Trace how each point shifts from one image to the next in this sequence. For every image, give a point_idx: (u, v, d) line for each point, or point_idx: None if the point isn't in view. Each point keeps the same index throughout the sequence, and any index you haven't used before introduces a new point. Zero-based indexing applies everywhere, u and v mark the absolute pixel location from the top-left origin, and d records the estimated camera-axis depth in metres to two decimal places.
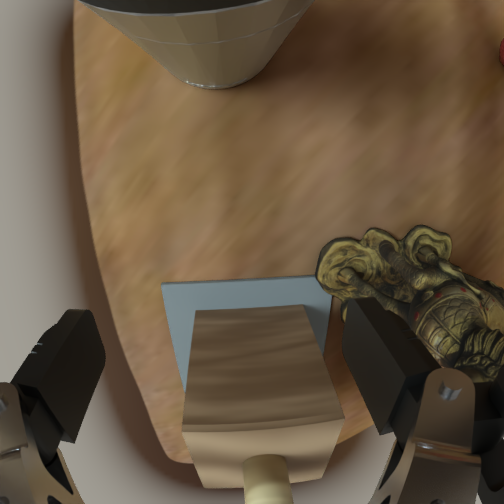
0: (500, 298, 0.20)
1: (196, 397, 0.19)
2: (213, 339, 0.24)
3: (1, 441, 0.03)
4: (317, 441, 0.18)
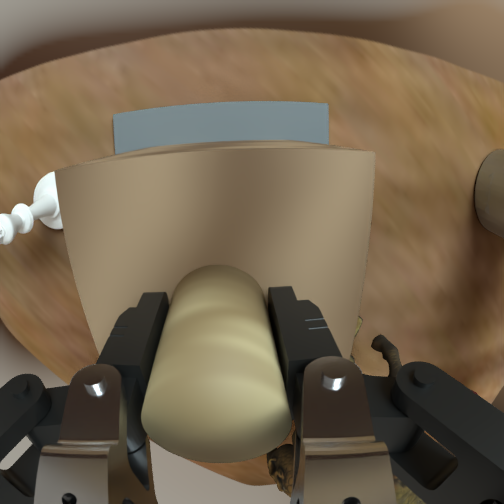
0: None
1: None
2: None
3: (86, 428, 0.04)
4: None
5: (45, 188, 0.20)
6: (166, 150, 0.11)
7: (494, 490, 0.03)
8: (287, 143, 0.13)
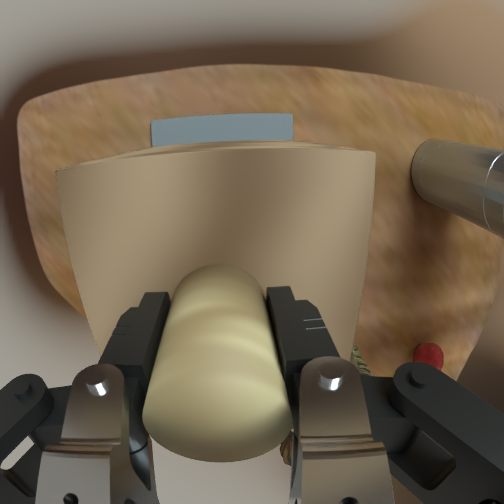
0: None
1: None
2: None
3: (88, 428, 0.04)
4: None
5: None
6: (167, 150, 0.11)
7: (493, 490, 0.03)
8: (287, 143, 0.13)
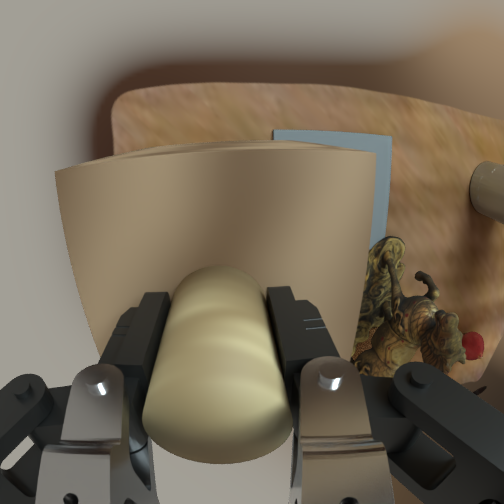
0: None
1: None
2: None
3: (88, 428, 0.04)
4: None
5: None
6: (167, 151, 0.11)
7: (492, 490, 0.03)
8: None
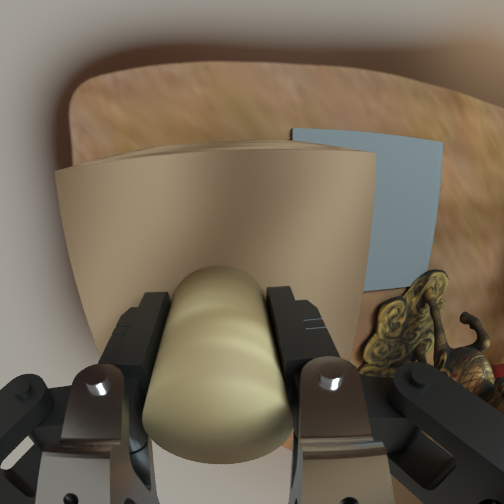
0: None
1: None
2: None
3: (89, 429, 0.04)
4: None
5: None
6: (167, 151, 0.11)
7: (493, 490, 0.03)
8: None
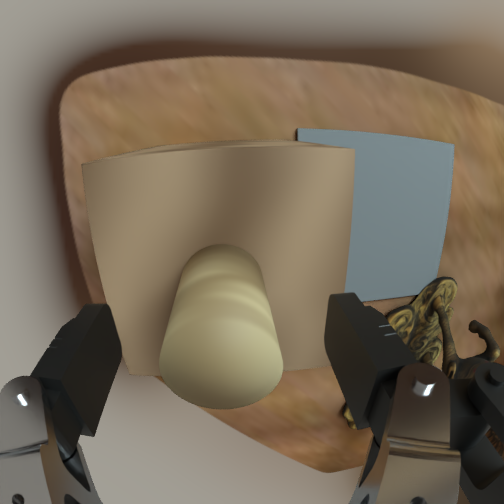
0: None
1: None
2: None
3: (20, 436, 0.04)
4: (284, 348, 0.14)
5: None
6: (176, 148, 0.13)
7: None
8: None
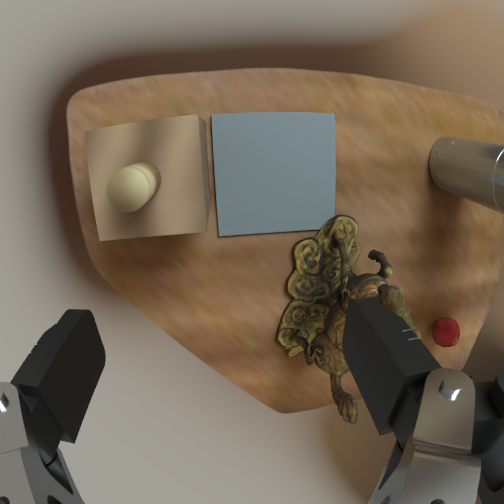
0: None
1: None
2: (204, 136, 0.32)
3: (1, 441, 0.03)
4: (176, 217, 0.26)
5: None
6: None
7: None
8: None
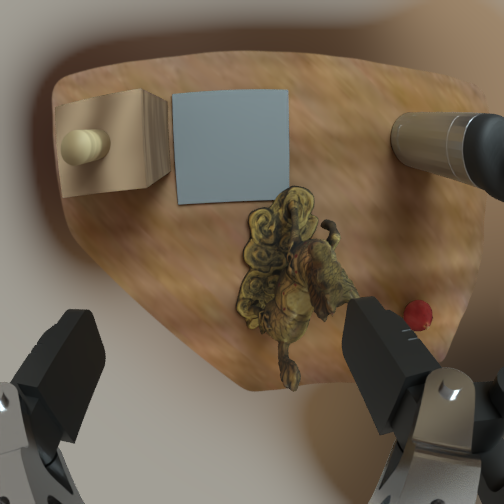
0: None
1: (148, 98, 0.28)
2: (161, 111, 0.34)
3: (0, 441, 0.03)
4: (122, 176, 0.28)
5: None
6: None
7: None
8: None
